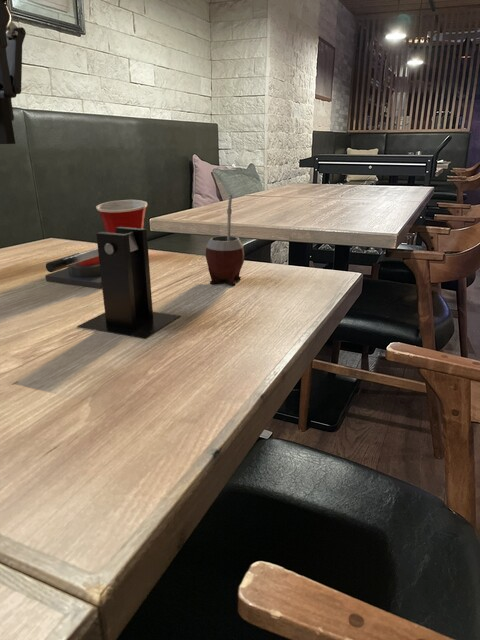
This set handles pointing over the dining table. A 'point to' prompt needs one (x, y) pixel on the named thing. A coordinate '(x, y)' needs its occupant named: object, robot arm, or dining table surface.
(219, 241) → the mate gourd
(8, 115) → the robot arm
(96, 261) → the button
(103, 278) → the bracket
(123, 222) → the plastic cup
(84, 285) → the button box
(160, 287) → the dining table surface
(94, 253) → the lever
